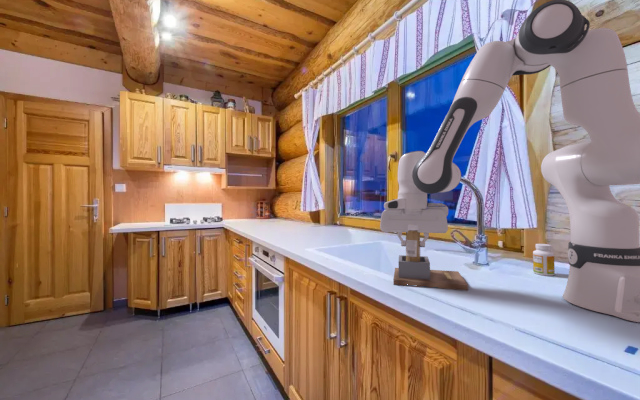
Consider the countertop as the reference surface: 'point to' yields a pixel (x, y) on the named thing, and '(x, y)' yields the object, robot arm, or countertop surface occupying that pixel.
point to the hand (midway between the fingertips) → (412, 246)
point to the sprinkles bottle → (413, 243)
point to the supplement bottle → (543, 260)
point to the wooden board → (435, 280)
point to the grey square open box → (414, 268)
